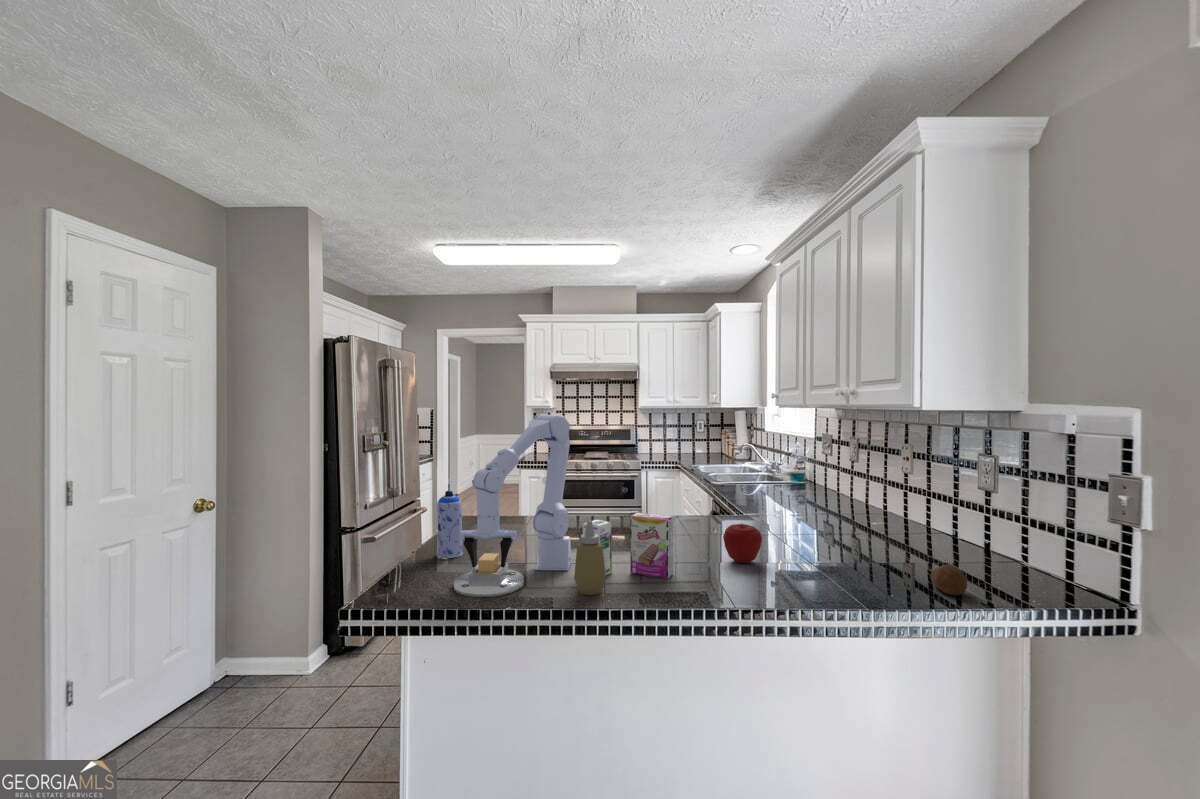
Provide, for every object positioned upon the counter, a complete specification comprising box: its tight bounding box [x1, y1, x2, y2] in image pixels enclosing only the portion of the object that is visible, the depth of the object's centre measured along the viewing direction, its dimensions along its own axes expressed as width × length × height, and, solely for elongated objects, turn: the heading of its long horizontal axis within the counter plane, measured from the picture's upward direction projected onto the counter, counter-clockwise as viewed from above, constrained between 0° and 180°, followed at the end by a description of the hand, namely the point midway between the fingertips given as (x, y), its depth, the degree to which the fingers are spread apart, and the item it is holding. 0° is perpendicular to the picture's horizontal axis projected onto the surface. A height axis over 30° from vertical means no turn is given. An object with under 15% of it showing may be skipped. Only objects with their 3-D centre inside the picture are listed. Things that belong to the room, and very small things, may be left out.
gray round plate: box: [453, 561, 525, 598], centre depth 151 cm, size 18×18×4 cm
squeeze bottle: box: [573, 520, 607, 596], centre depth 145 cm, size 8×8×18 cm
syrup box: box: [582, 519, 613, 576], centre depth 159 cm, size 6×6×14 cm
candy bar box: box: [629, 512, 674, 580], centre depth 158 cm, size 11×5×16 cm, turn 65°
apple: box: [722, 523, 763, 564], centre depth 169 cm, size 11×11×12 cm
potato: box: [930, 563, 968, 596], centre depth 144 cm, size 7×10×7 cm
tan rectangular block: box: [477, 553, 500, 573], centre depth 151 cm, size 4×6×6 cm, turn 176°
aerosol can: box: [436, 490, 464, 559], centre depth 178 cm, size 8×8×20 cm
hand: (489, 566), depth 151 cm, fingers open, 7 cm apart
